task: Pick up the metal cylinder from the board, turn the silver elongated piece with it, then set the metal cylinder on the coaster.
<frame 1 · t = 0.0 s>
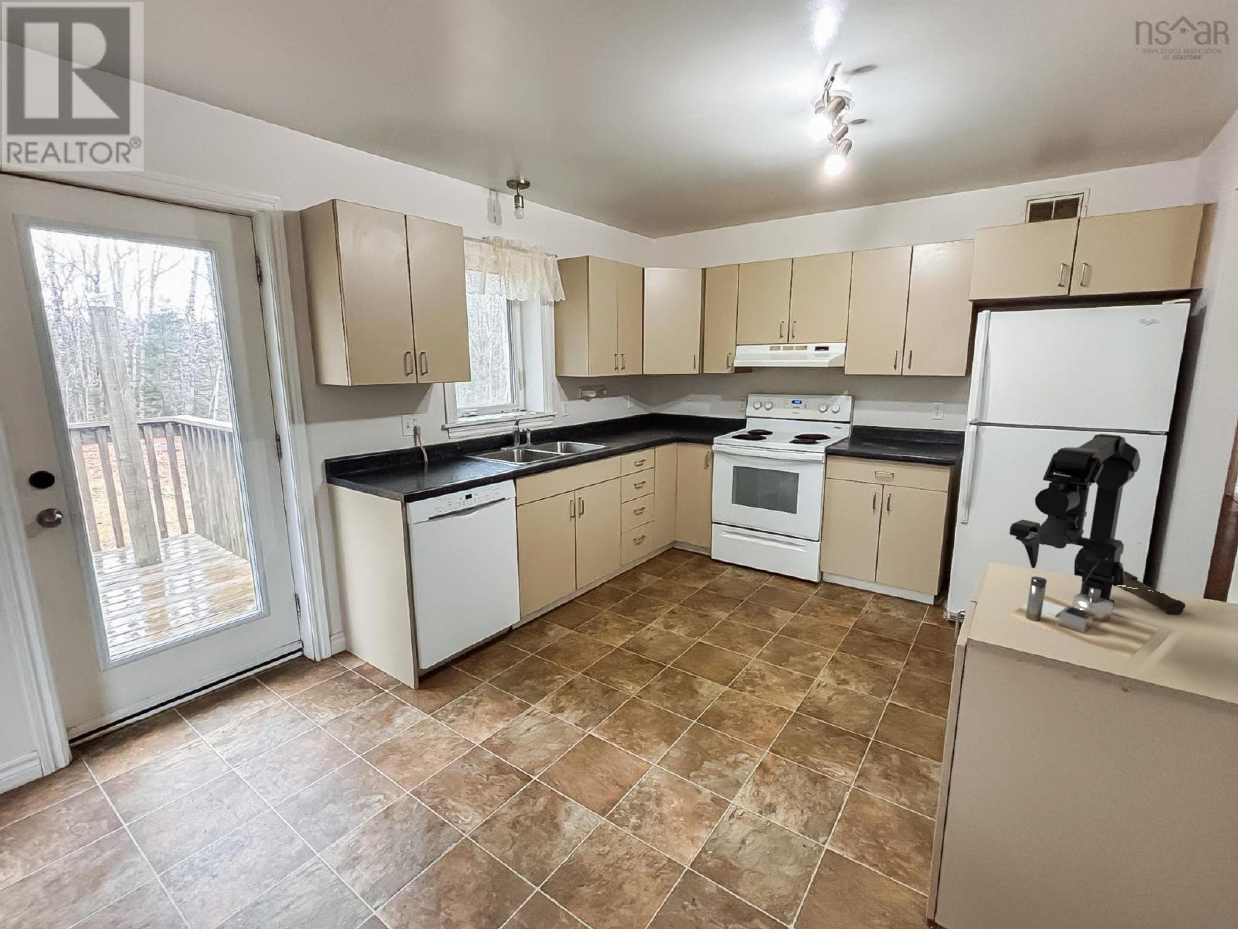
hand: (1057, 574, 120), 15 cm above the table, tool pointing down, fingers open, 9 cm apart
metal cylinder: (1032, 618, 127), point 1 cm above the table, touching board
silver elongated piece: (1086, 606, 125), point 5 cm above the table, hinge at 0.0°
coaster: (1044, 608, 132), resting on board
board: (1080, 627, 126), on the table
hand tool: (1139, 599, 140), on the table
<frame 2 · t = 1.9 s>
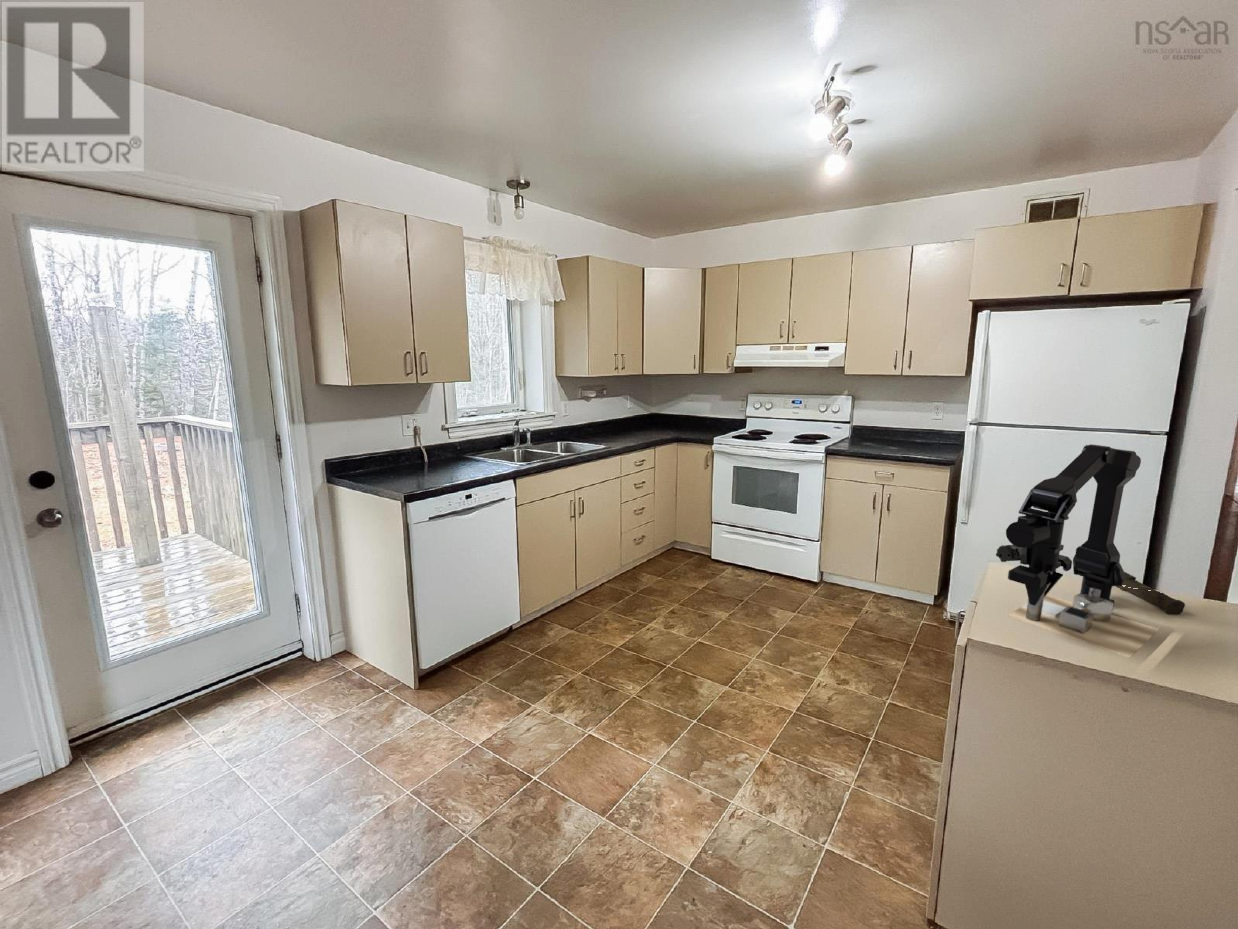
hand: (1035, 602, 126), 6 cm above the table, tool pointing down, fingers closed on metal cylinder, 3 cm apart
metal cylinder: (1032, 618, 127), point 2 cm above the table, touching board, gripper
when the fingers open (7 cm above the table, at t = 6.2 s): metal cylinder stays where it is, resting on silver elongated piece.
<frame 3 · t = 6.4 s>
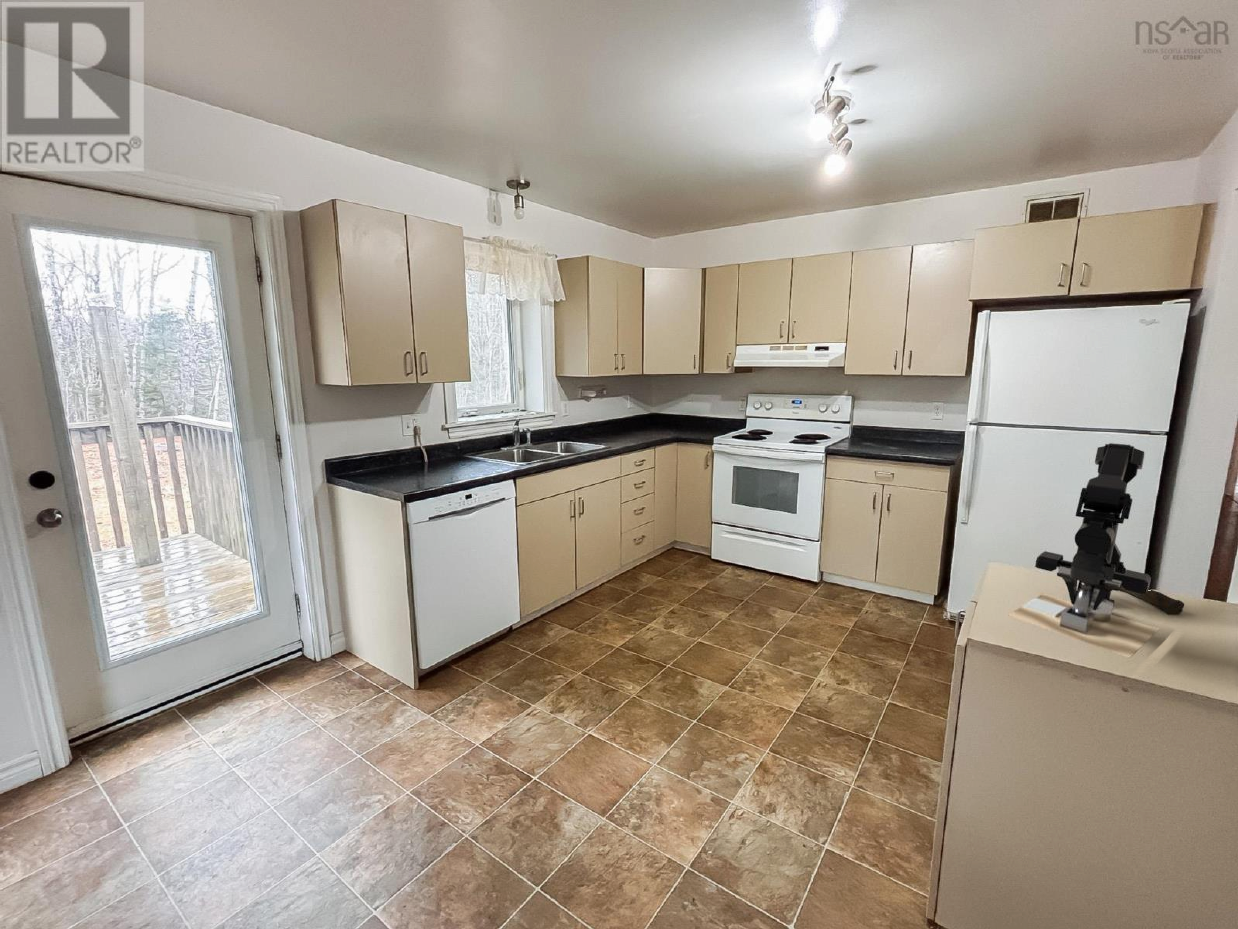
hand: (1083, 606, 121), 7 cm above the table, tool pointing down, fingers open, 3 cm apart
metal cylinder: (1077, 622, 122), point 3 cm above the table, touching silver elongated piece, gripper
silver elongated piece: (1086, 606, 125), point 5 cm above the table, hinge at 1.0°, touching metal cylinder
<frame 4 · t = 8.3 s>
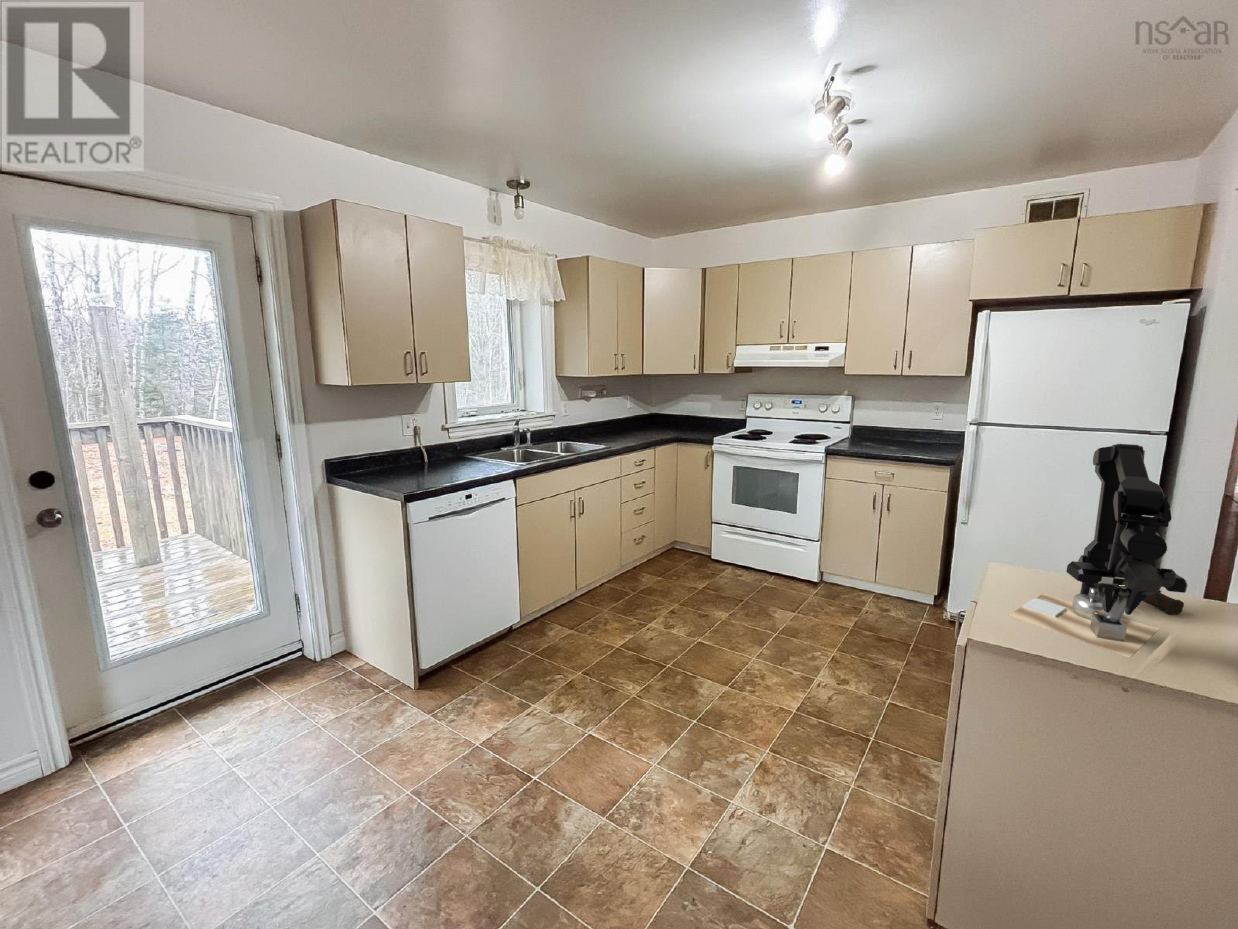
hand: (1116, 612, 118), 7 cm above the table, tool pointing down, fingers open, 3 cm apart
metal cylinder: (1108, 629, 119), point 3 cm above the table, tilted 7°, touching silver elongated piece, gripper
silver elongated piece: (1099, 609, 124), point 5 cm above the table, hinge at 31.6°, touching metal cylinder
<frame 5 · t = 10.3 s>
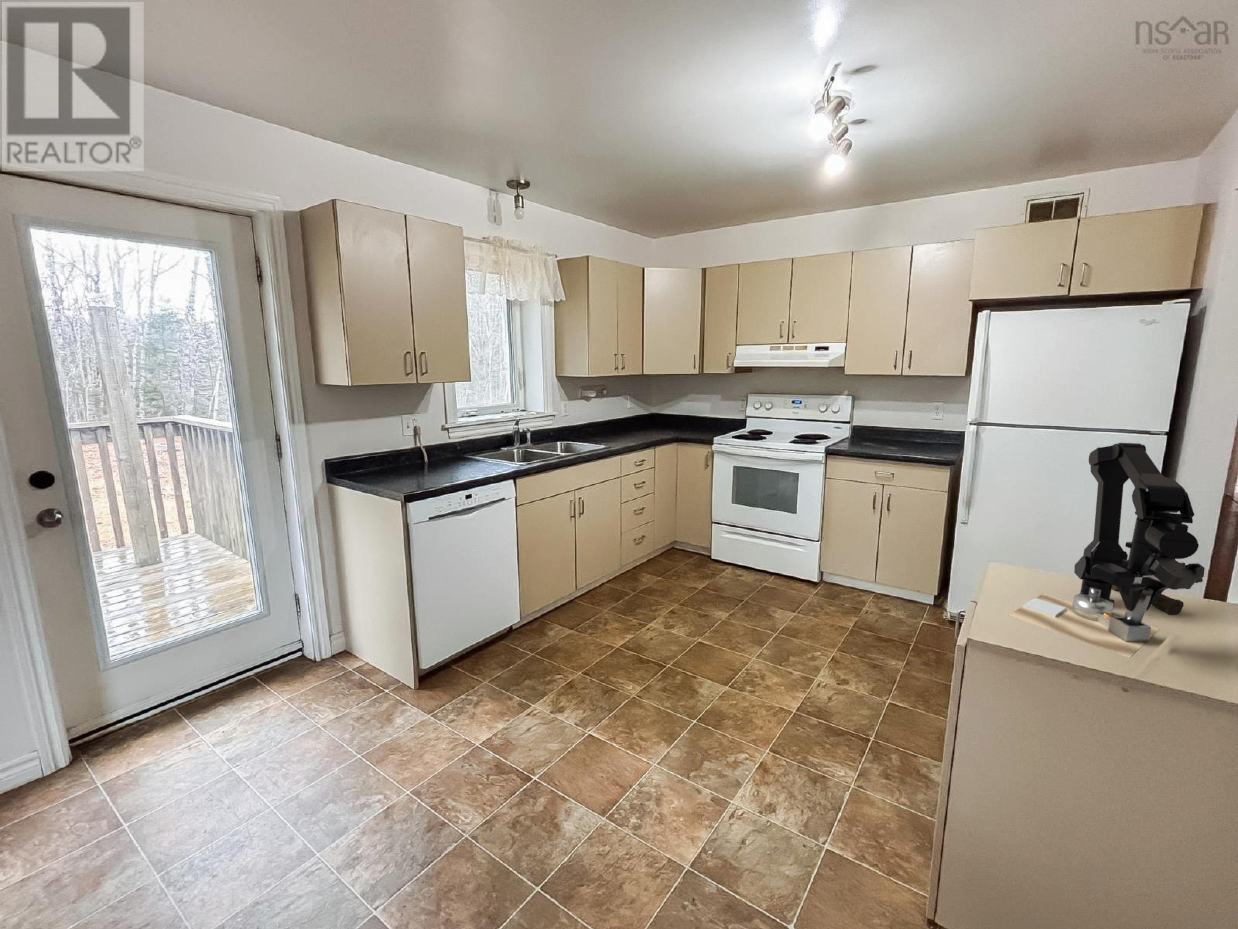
hand: (1136, 609, 117), 8 cm above the table, tool pointing down, fingers closed on metal cylinder, 3 cm apart
metal cylinder: (1129, 628, 118), point 4 cm above the table, tilted 9°, touching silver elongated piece, gripper
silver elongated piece: (1108, 610, 123), point 5 cm above the table, hinge at 54.1°, touching metal cylinder
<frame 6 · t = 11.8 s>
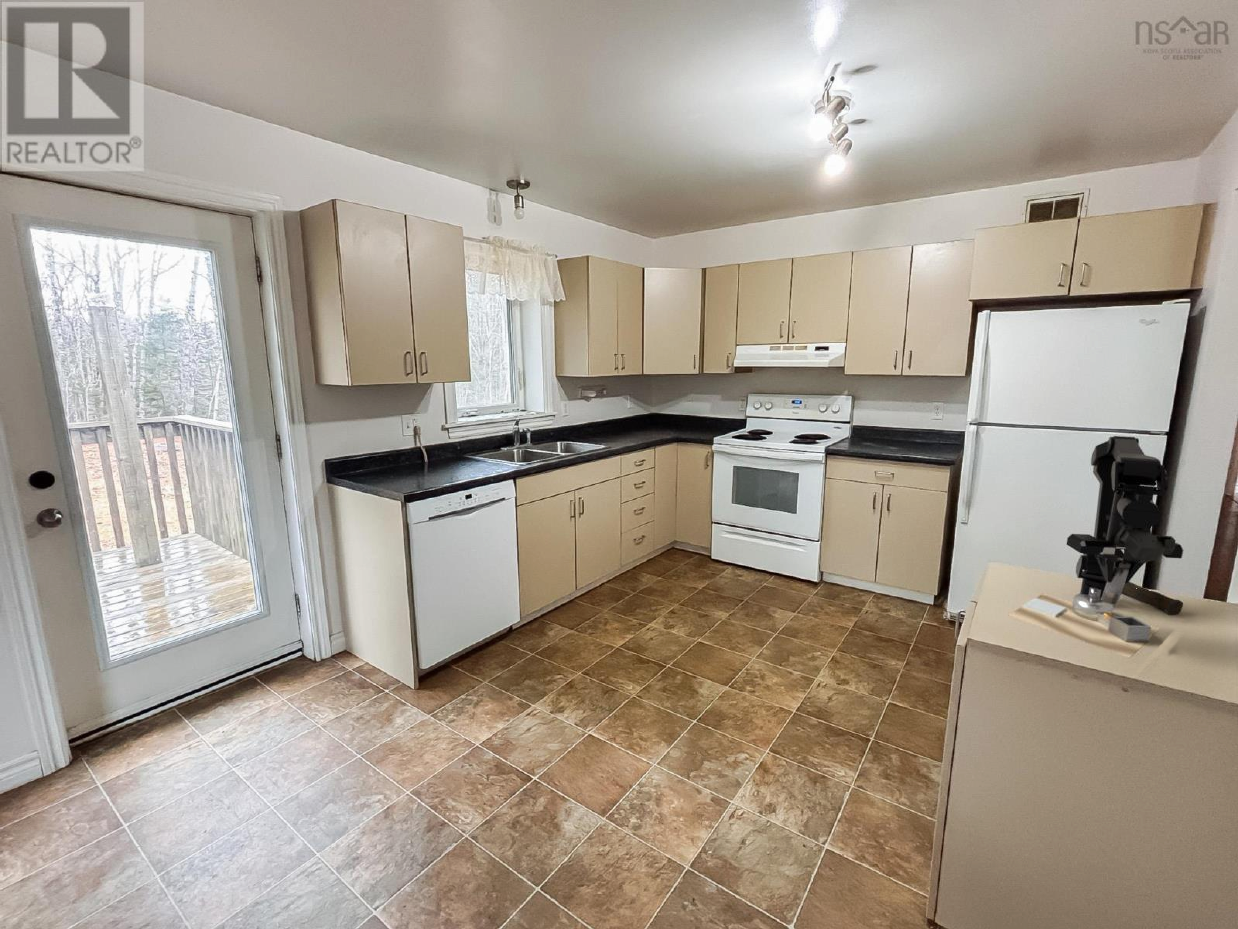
hand: (1116, 581, 120), 13 cm above the table, tool pointing down, fingers closed on metal cylinder, 3 cm apart
metal cylinder: (1109, 601, 121), point 8 cm above the table, tilted 7°, touching gripper
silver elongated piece: (1108, 610, 123), point 5 cm above the table, hinge at 54.1°
when the fingers open (7 cm above the table, at t = 13.8 s): metal cylinder stays where it is, resting on coaster.
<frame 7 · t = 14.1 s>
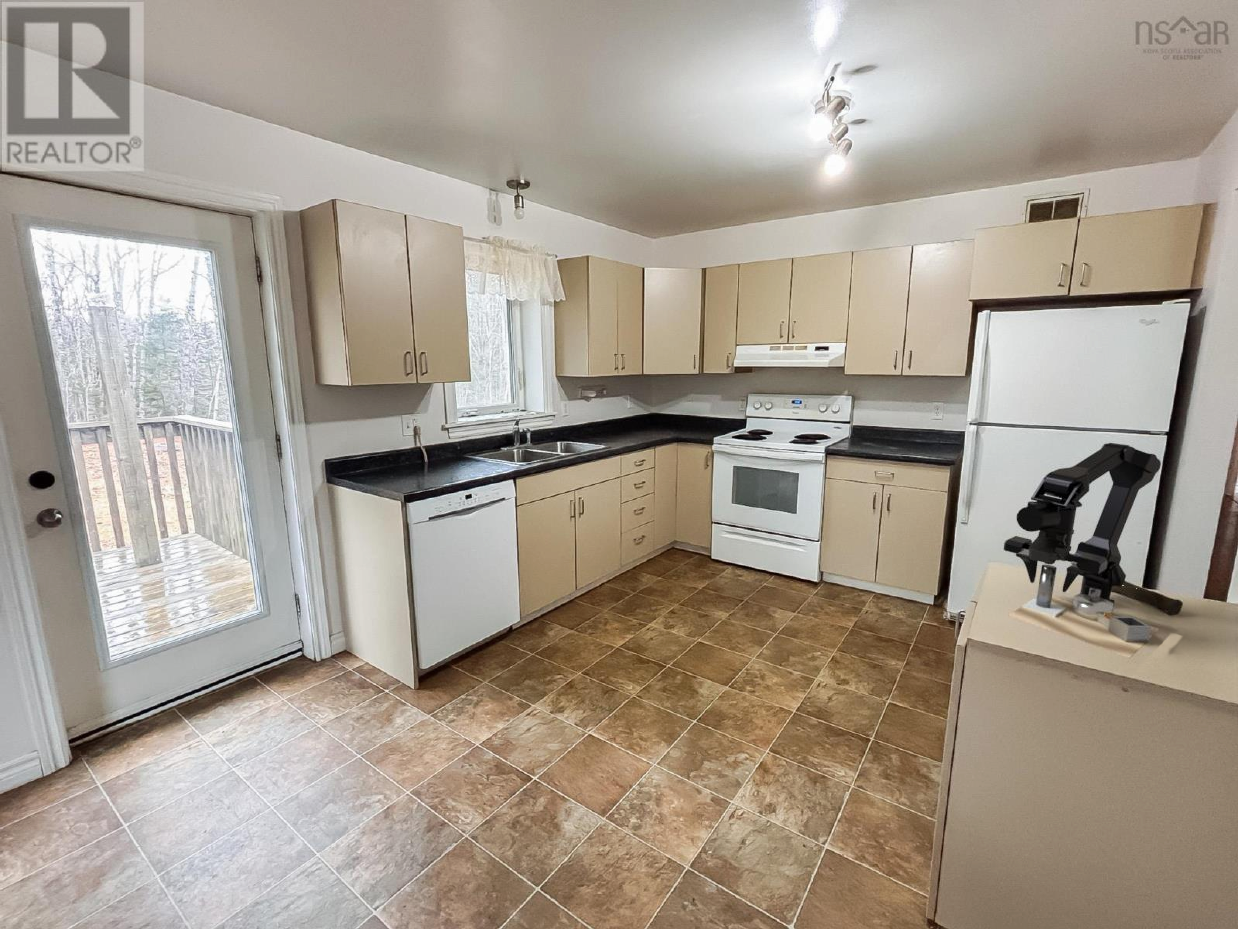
hand: (1047, 587, 131), 7 cm above the table, tool pointing down, fingers open, 6 cm apart
metal cylinder: (1043, 605, 132), point 2 cm above the table, touching coaster
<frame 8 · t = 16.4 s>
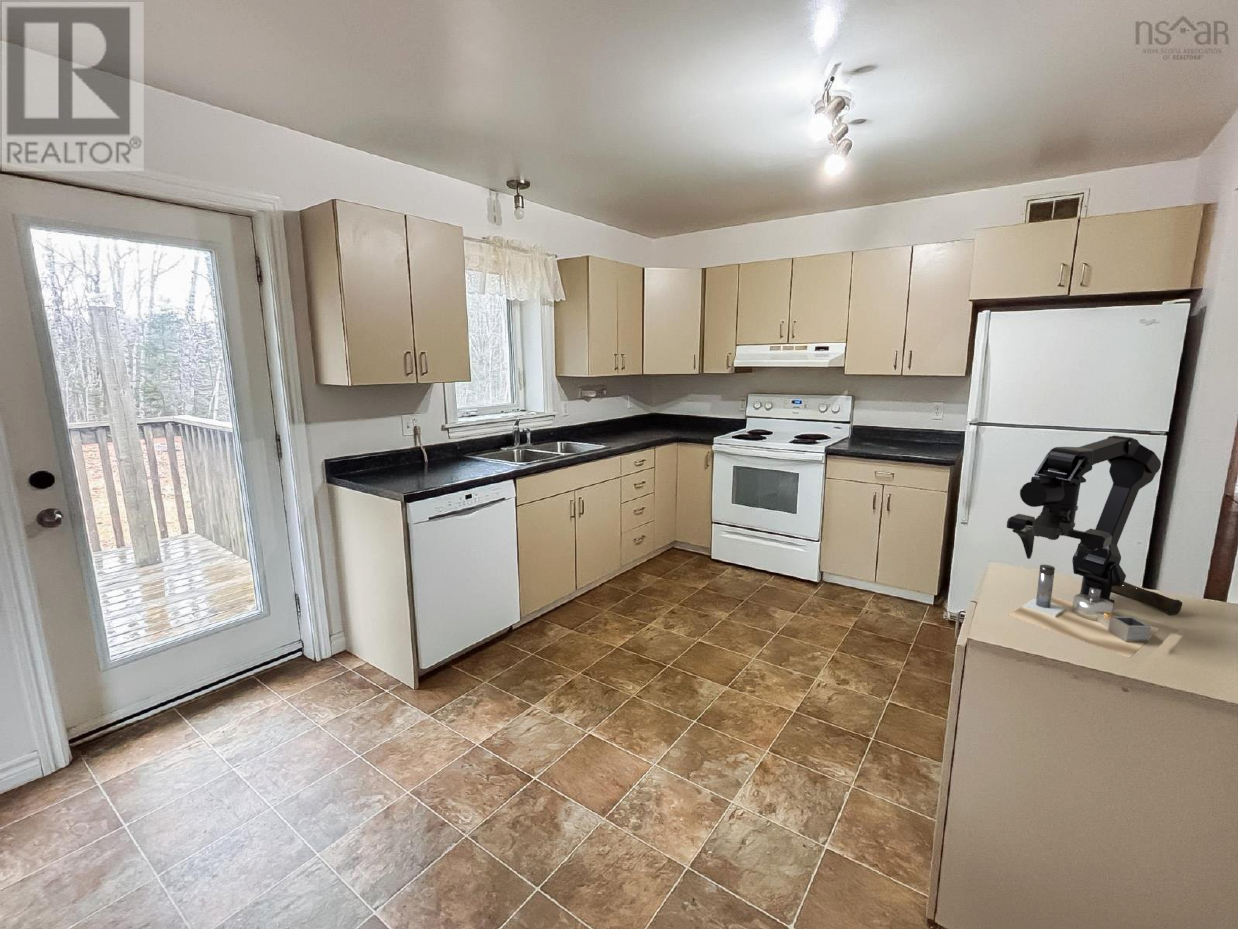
hand: (1051, 564, 129), 13 cm above the table, tool pointing down, fingers open, 9 cm apart
at the end: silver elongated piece at +54° (first picture: +0°); metal cylinder 0.4 cm off-centre on the coaster, point 0.7 cm above the coaster's base; metal cylinder tilted 3° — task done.
